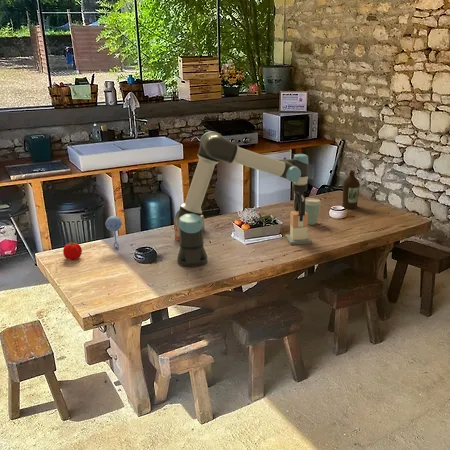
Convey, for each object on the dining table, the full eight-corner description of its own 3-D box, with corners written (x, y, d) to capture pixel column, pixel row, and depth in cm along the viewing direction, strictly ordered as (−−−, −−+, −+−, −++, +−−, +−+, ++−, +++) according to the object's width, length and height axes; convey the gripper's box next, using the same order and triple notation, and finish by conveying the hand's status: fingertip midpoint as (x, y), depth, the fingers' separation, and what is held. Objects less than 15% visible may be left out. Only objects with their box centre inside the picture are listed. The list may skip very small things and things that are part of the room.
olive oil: (338, 205, 333) (341, 168, 324) (353, 204, 335) (356, 167, 326) (345, 210, 323) (348, 172, 314) (360, 208, 325) (363, 171, 316)
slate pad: (290, 244, 268) (290, 242, 268) (285, 236, 279) (285, 234, 279) (311, 243, 270) (312, 240, 269) (305, 235, 281) (305, 233, 280)
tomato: (66, 263, 250) (64, 248, 247) (61, 257, 258) (59, 242, 255) (85, 259, 255) (83, 244, 252) (79, 253, 263) (77, 238, 260)
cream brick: (292, 239, 271) (293, 227, 268) (290, 236, 276) (290, 224, 274) (306, 239, 272) (307, 227, 269) (303, 235, 277) (304, 223, 275)
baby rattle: (104, 247, 269) (101, 216, 263) (117, 243, 275) (114, 212, 269) (114, 252, 263) (110, 220, 257) (127, 247, 269) (124, 215, 263)
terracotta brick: (292, 227, 268) (293, 214, 266) (290, 223, 274) (290, 211, 271) (307, 226, 269) (307, 214, 267) (304, 222, 275) (304, 210, 272)
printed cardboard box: (195, 228, 296) (195, 208, 291) (204, 230, 292) (204, 210, 288) (174, 240, 278) (173, 219, 274) (183, 242, 275) (182, 221, 271)
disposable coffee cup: (302, 219, 306) (303, 196, 301) (320, 220, 304) (321, 197, 299) (301, 225, 297) (302, 201, 292) (319, 226, 295) (321, 202, 289)
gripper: (312, 187, 255) (310, 229, 263) (302, 178, 273) (300, 218, 281) (298, 188, 254) (296, 230, 262) (289, 179, 272) (287, 219, 280)
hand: (298, 224), depth 271 cm, fingers closed on terracotta brick, 6 cm apart
